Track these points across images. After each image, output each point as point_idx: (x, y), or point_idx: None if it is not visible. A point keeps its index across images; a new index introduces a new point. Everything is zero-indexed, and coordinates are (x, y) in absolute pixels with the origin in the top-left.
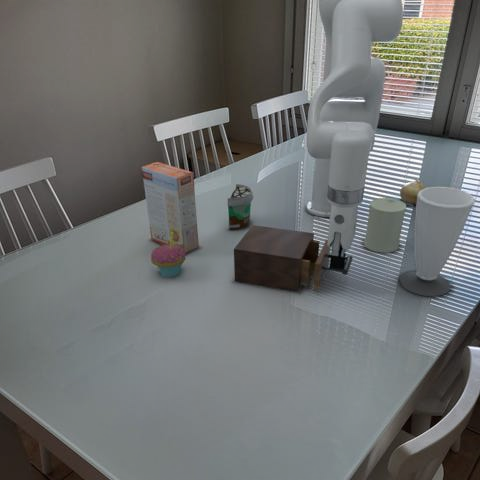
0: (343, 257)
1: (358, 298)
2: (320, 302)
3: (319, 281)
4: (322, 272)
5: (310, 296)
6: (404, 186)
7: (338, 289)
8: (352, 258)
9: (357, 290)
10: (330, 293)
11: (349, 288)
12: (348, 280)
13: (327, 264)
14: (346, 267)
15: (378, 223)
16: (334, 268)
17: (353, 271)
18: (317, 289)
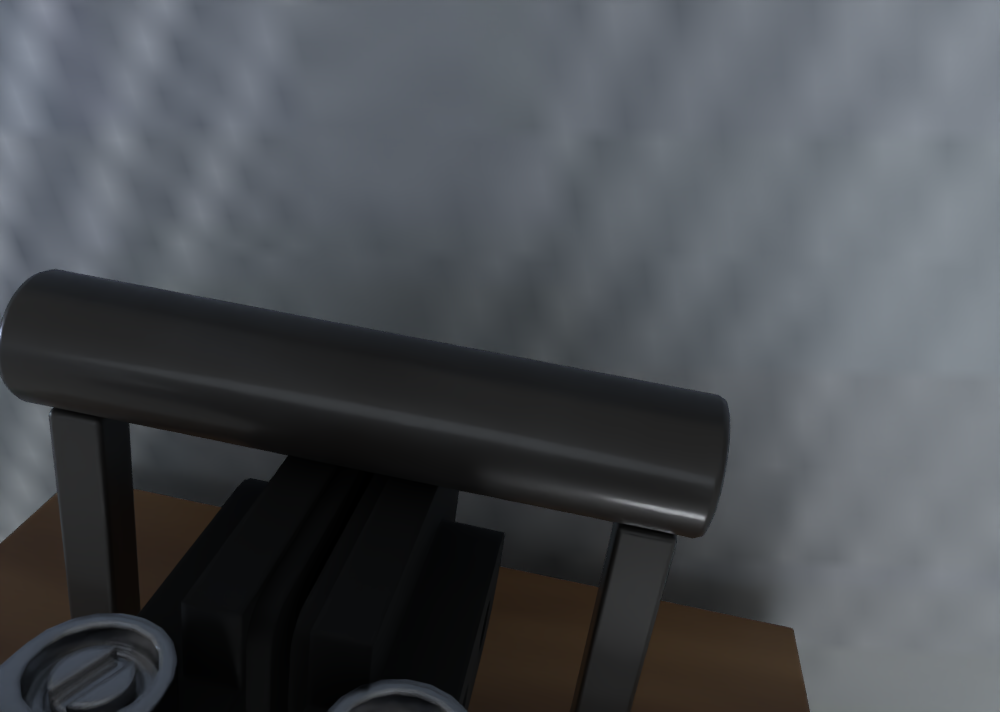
0: (377, 647)
1: (880, 19)
2: (994, 562)
3: (737, 701)
4: (526, 691)
5: (838, 661)
6: None
7: (622, 331)
8: (58, 288)
9: (614, 37)
10: (746, 438)
11: (569, 170)
12: (333, 184)
13: (143, 541)
14: (613, 473)
15: None
16: (625, 668)
17: (46, 104)
18: (795, 647)
